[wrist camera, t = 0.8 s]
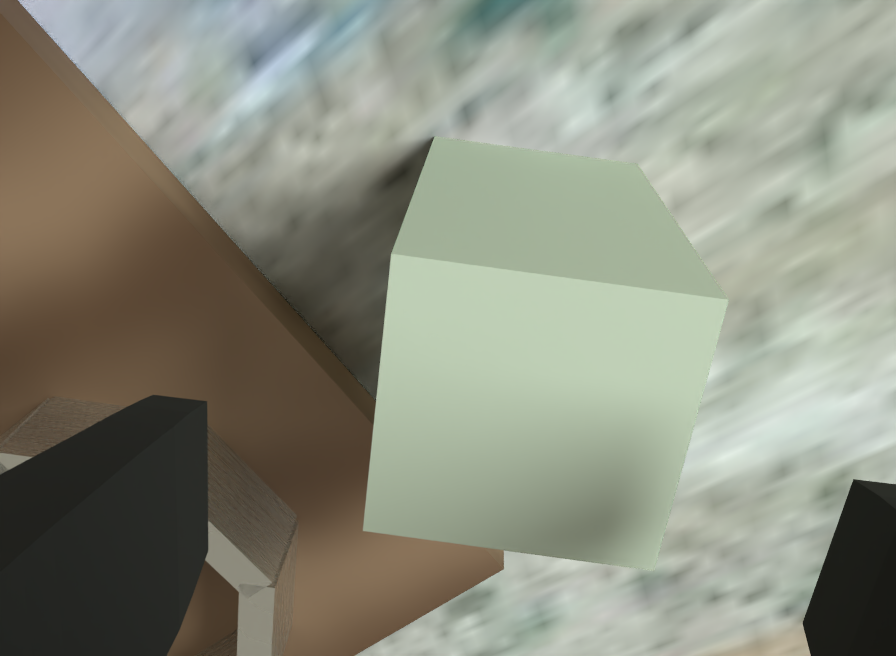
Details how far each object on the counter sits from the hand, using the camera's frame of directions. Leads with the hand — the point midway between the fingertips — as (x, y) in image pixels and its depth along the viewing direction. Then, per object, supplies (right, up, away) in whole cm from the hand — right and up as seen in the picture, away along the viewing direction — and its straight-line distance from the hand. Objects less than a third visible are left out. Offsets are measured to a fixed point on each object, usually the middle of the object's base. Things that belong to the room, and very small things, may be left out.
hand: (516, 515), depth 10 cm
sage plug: (+1, +4, +10) cm, 10 cm away
